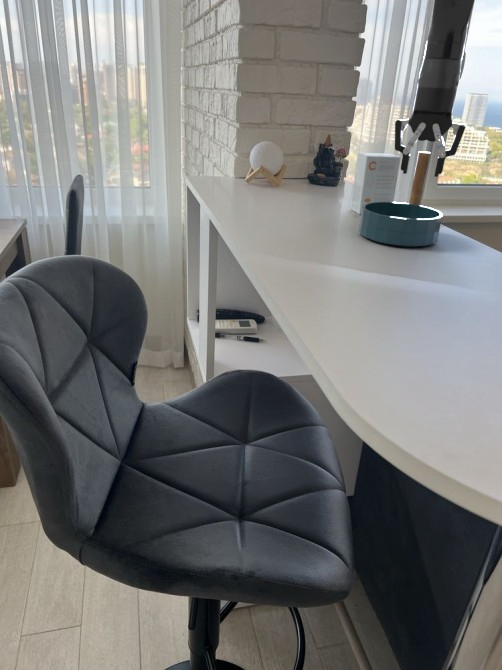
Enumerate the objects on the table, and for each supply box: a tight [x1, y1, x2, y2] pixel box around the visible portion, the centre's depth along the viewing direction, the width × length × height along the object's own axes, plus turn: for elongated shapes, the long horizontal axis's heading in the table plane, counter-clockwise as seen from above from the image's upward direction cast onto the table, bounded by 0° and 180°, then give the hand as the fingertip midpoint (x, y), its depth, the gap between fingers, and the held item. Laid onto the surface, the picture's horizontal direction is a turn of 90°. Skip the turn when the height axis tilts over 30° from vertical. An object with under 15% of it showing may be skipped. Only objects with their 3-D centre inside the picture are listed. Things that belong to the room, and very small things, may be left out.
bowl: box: [358, 201, 444, 248], centre depth 99 cm, size 15×15×6 cm
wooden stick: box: [408, 150, 431, 206], centre depth 108 cm, size 2×2×15 cm
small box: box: [350, 152, 402, 215], centre depth 117 cm, size 8×6×13 cm
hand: (420, 174), depth 107 cm, fingers open, 5 cm apart
